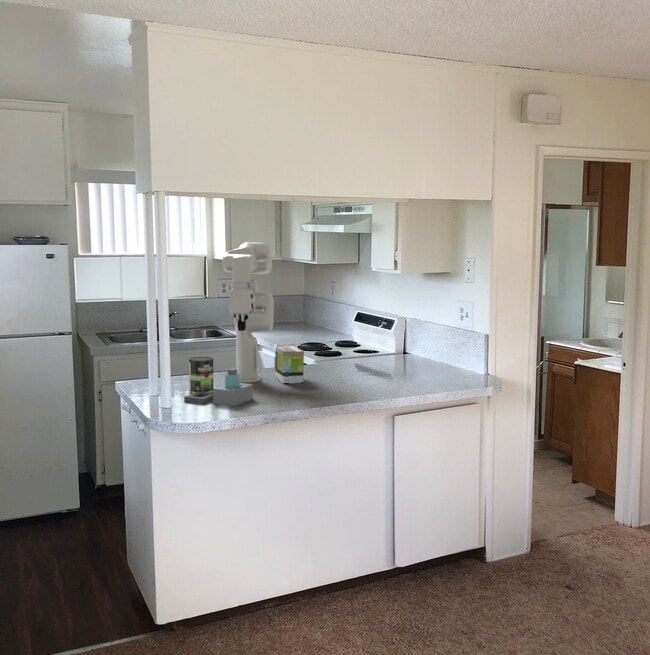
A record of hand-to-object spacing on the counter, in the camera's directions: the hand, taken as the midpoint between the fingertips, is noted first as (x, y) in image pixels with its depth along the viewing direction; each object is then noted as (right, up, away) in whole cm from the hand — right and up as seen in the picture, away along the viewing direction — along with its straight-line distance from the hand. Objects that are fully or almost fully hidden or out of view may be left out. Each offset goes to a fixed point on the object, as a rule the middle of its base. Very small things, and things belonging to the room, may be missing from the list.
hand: (241, 330), depth 293 cm
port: (-2, -28, -8) cm, 30 cm away
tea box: (+18, -23, +33) cm, 44 cm away
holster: (-15, -28, -8) cm, 33 cm away
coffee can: (-18, -26, +8) cm, 33 cm away
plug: (-3, -26, -9) cm, 28 cm away
